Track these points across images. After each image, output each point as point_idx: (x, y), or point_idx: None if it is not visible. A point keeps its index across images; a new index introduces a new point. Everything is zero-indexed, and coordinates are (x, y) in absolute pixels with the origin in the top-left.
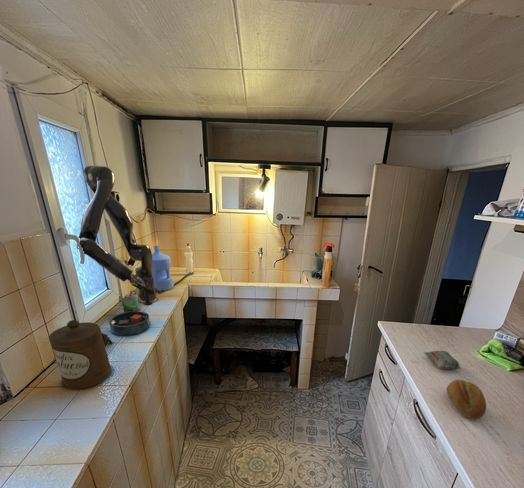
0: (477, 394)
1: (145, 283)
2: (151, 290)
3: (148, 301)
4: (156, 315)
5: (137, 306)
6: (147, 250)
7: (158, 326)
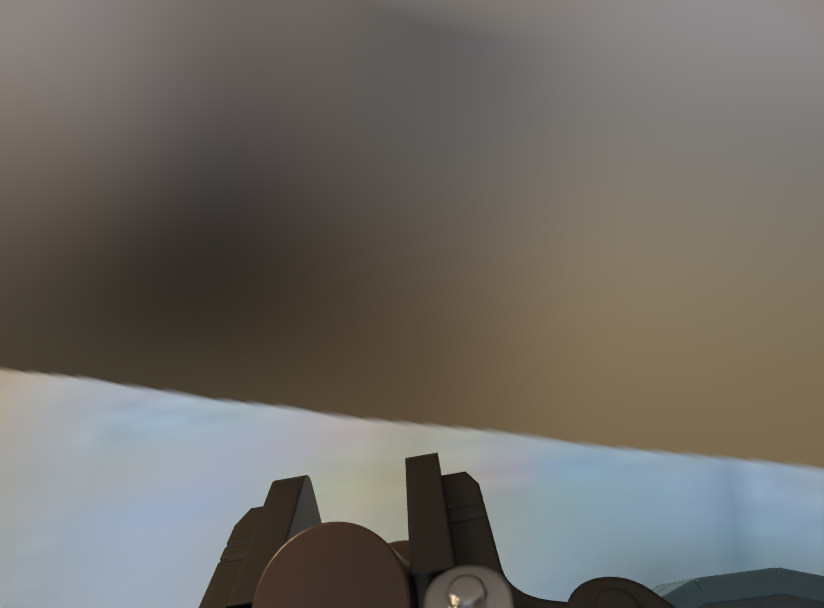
0: None
1: (276, 605)
2: (436, 461)
3: None
4: None
5: None
6: None
7: (705, 482)
